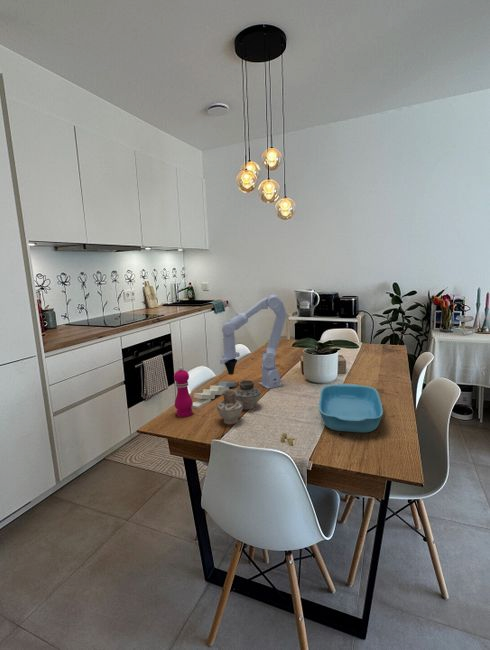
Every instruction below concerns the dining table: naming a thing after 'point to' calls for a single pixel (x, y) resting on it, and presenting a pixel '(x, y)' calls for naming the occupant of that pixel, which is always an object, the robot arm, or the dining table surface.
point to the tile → (212, 392)
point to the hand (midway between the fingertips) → (231, 374)
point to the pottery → (238, 401)
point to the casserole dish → (350, 407)
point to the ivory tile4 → (204, 396)
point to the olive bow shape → (287, 439)
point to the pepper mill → (182, 394)
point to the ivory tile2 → (219, 388)
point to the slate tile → (227, 384)
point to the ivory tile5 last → (200, 403)
